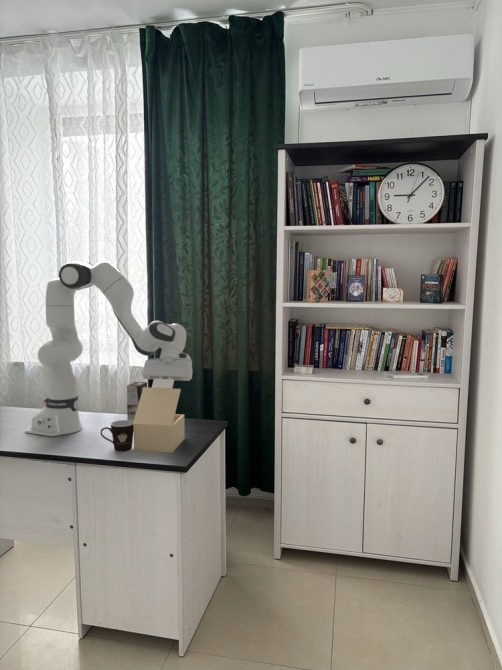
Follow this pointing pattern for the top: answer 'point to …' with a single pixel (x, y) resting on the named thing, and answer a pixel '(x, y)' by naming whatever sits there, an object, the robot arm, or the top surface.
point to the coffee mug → (121, 435)
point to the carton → (159, 436)
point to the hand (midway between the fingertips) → (163, 387)
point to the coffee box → (134, 398)
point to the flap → (157, 404)
